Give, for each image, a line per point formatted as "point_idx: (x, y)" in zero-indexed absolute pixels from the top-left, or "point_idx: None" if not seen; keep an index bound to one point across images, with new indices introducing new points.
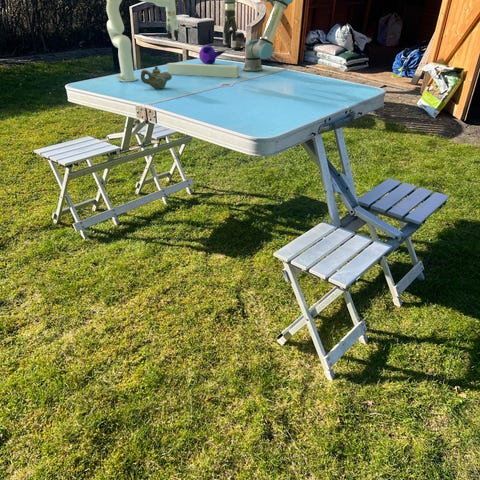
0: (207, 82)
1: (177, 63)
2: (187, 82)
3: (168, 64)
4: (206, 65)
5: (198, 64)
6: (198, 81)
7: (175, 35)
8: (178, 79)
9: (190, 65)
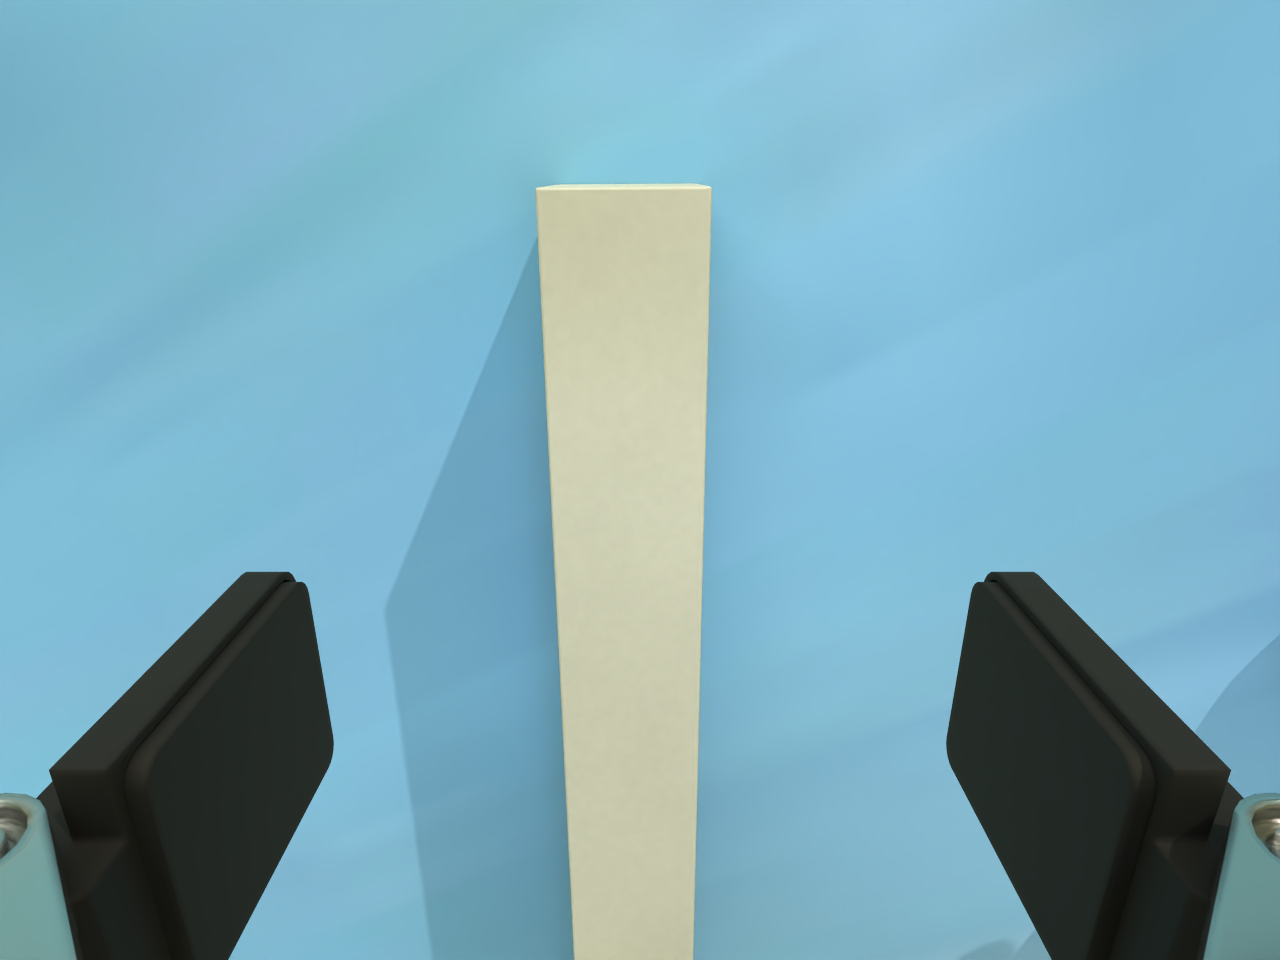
0: (244, 955)
1: (663, 401)
2: None
3: (539, 235)
4: (602, 937)
5: (658, 804)
6: None
7: (1000, 709)
8: None
9: (562, 709)
